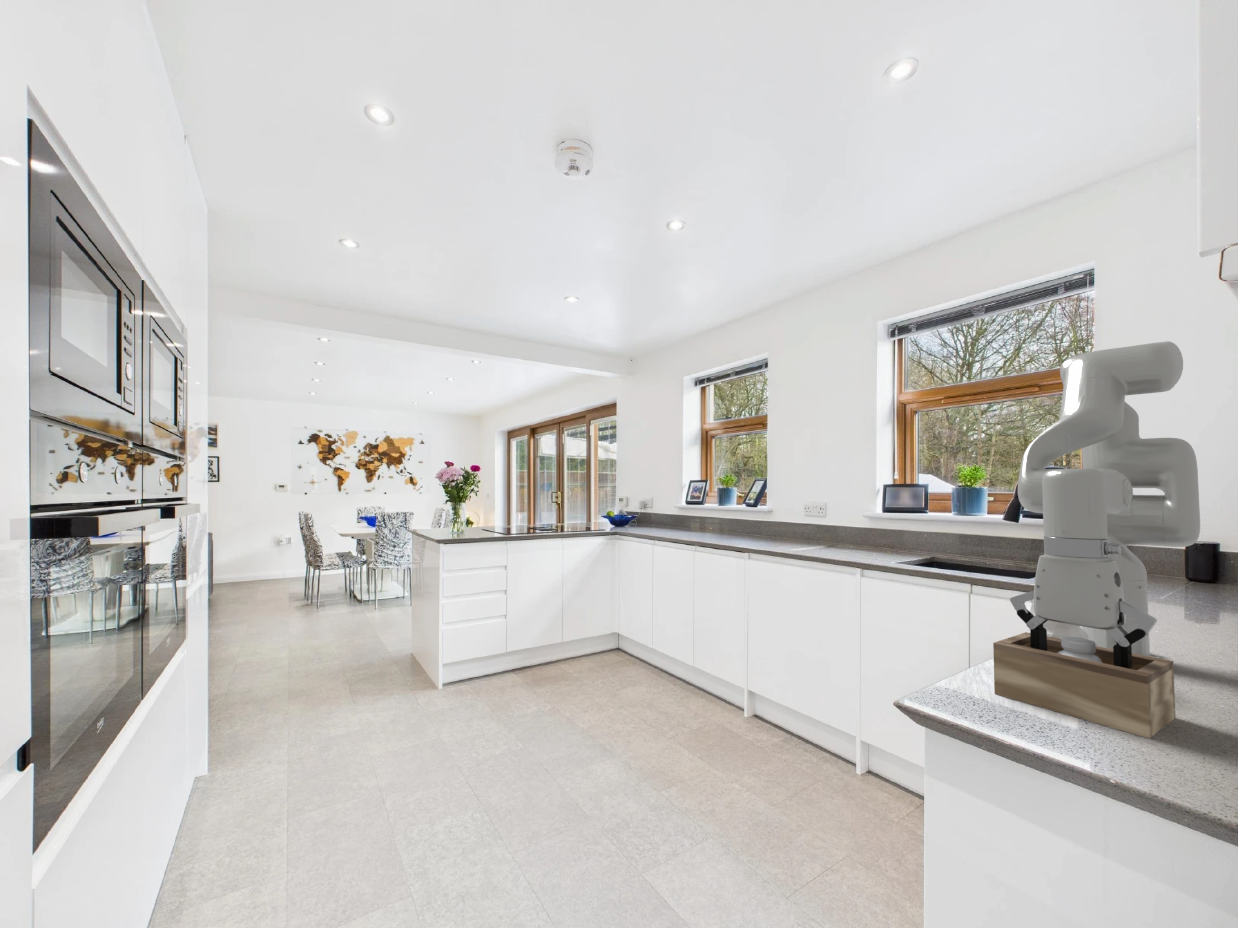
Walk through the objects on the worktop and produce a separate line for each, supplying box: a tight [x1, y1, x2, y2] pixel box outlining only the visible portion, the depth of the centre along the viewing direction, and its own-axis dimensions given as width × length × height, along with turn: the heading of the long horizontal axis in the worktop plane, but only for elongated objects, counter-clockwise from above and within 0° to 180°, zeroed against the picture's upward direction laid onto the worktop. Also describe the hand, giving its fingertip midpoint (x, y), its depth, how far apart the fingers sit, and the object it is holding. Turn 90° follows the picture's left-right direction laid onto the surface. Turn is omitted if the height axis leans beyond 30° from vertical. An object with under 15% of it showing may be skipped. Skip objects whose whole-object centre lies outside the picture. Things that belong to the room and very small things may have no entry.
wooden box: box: [992, 631, 1176, 739], centre depth 81 cm, size 12×18×8 cm, turn 33°
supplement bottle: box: [1058, 637, 1102, 663], centre depth 81 cm, size 5×5×10 cm
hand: (1078, 662), depth 81 cm, fingers open, 9 cm apart
